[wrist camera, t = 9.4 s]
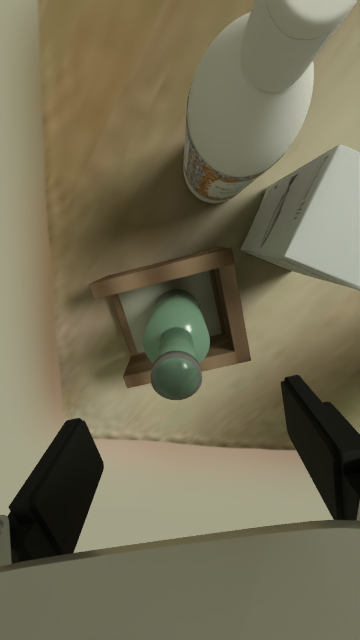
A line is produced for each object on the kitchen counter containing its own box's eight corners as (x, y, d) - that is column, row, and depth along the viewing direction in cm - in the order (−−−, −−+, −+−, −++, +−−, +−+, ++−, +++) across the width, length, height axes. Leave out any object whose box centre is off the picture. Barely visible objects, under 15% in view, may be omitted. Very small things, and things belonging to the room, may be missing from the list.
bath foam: (187, 208, 27) (210, 123, 8) (178, 135, 25) (183, -232, 6) (249, 199, 27) (431, 90, 7) (246, 125, 24) (490, -292, 5)
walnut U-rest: (220, 247, 28) (231, 248, 22) (237, 339, 32) (251, 360, 26) (106, 276, 29) (89, 284, 23) (136, 362, 33) (127, 388, 27)
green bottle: (194, 283, 28) (211, 326, 14) (204, 327, 30) (228, 405, 16) (148, 295, 28) (118, 348, 14) (160, 337, 30) (145, 423, 16)
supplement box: (266, 185, 26) (342, 135, 14) (324, 211, 27) (443, 187, 15) (237, 250, 28) (281, 256, 16) (292, 273, 29) (373, 295, 17)
